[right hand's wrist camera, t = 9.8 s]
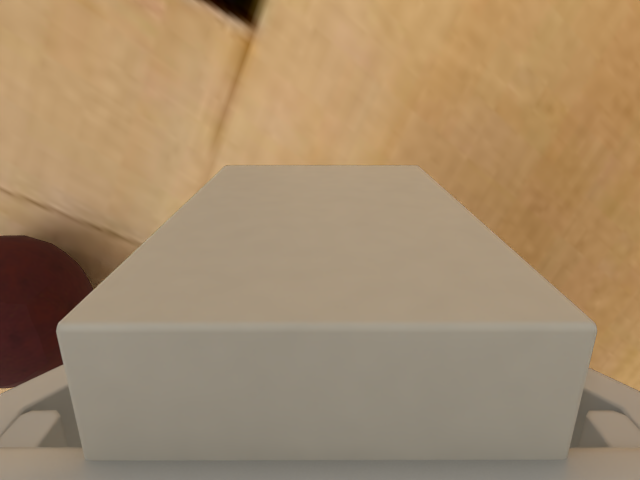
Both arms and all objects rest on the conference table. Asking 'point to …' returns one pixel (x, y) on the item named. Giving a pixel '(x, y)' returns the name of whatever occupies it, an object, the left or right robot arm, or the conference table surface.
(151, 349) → the bar
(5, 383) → the dark red round ball
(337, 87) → the conference table surface
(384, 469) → the right robot arm
